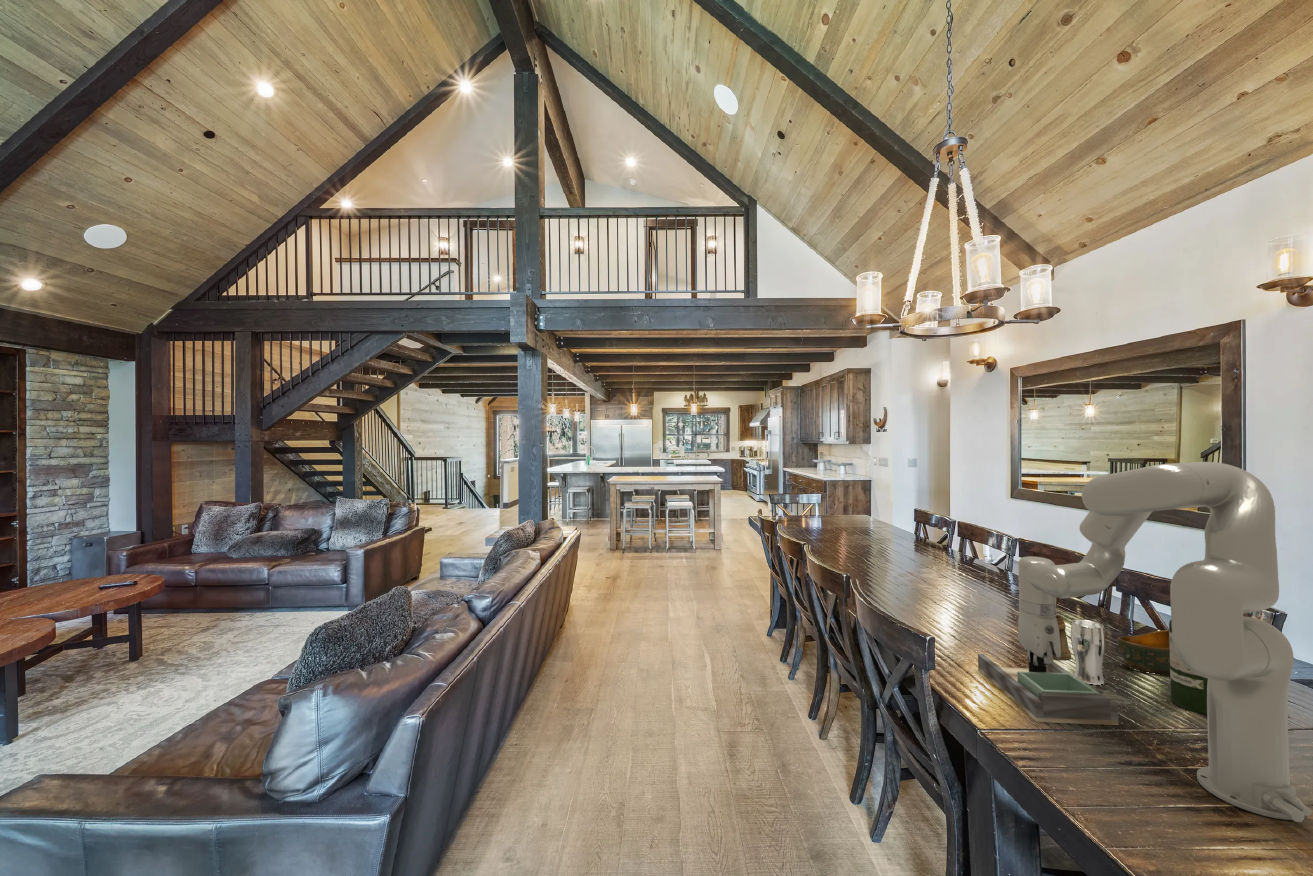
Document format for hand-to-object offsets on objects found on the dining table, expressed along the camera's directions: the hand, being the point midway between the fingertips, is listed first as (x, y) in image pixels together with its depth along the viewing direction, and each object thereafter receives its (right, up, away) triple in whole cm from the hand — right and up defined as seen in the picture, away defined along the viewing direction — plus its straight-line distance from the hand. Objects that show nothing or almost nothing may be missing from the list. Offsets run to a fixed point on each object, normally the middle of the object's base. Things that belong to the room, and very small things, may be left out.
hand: (1037, 679), depth 129 cm
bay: (0, -4, -1) cm, 4 cm away
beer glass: (+18, -3, +6) cm, 19 cm away
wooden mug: (+22, -3, +25) cm, 33 cm away
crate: (-1, -2, -7) cm, 8 cm away
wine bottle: (+31, -3, -8) cm, 33 cm away
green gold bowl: (+43, -3, +11) cm, 44 cm away
